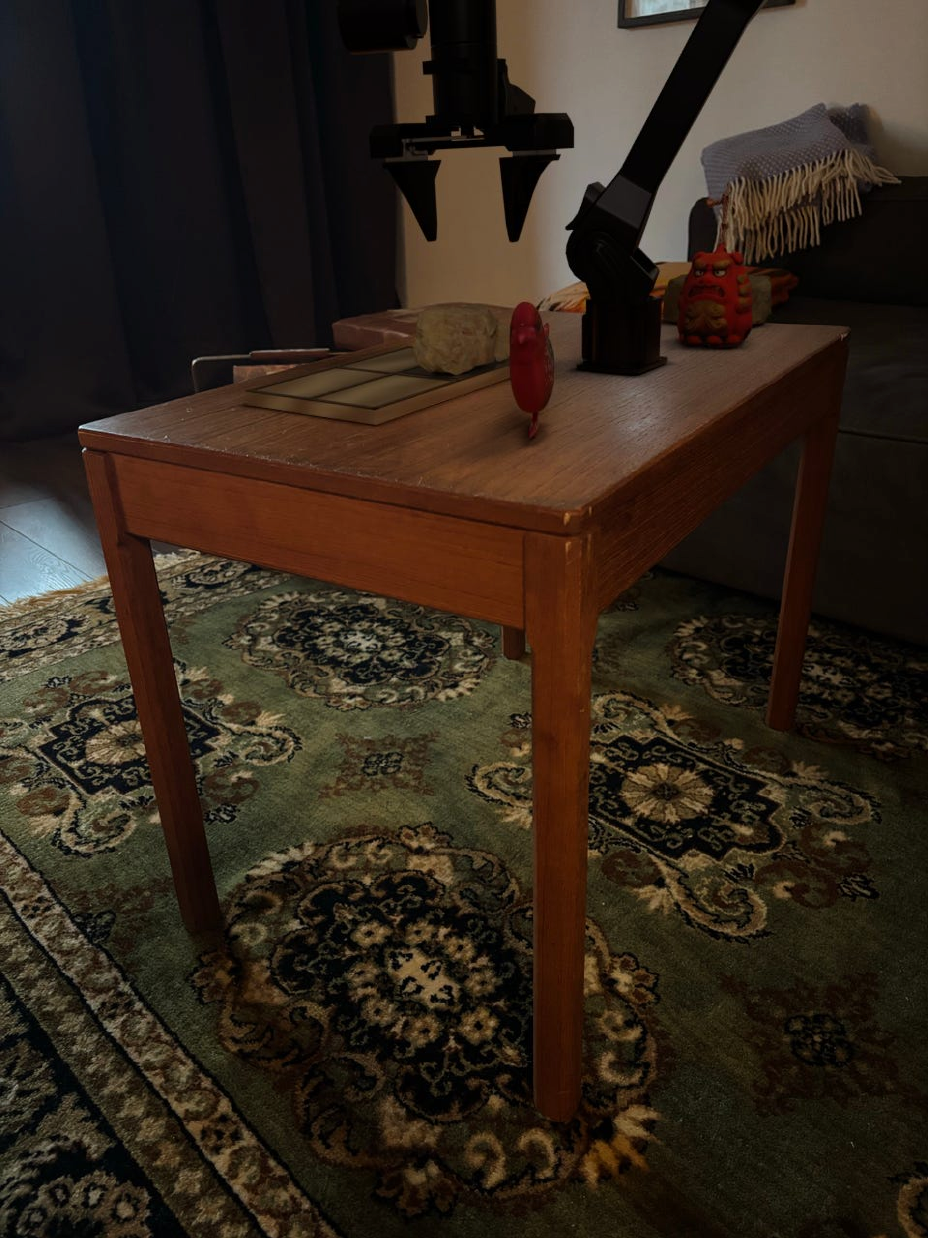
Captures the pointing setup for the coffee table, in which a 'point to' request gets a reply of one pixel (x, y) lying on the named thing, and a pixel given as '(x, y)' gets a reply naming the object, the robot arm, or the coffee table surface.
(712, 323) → the red clay folk toy
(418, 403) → the board
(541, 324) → the decorative bird figurine
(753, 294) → the stone block
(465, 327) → the stone tool
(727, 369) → the coffee table surface
